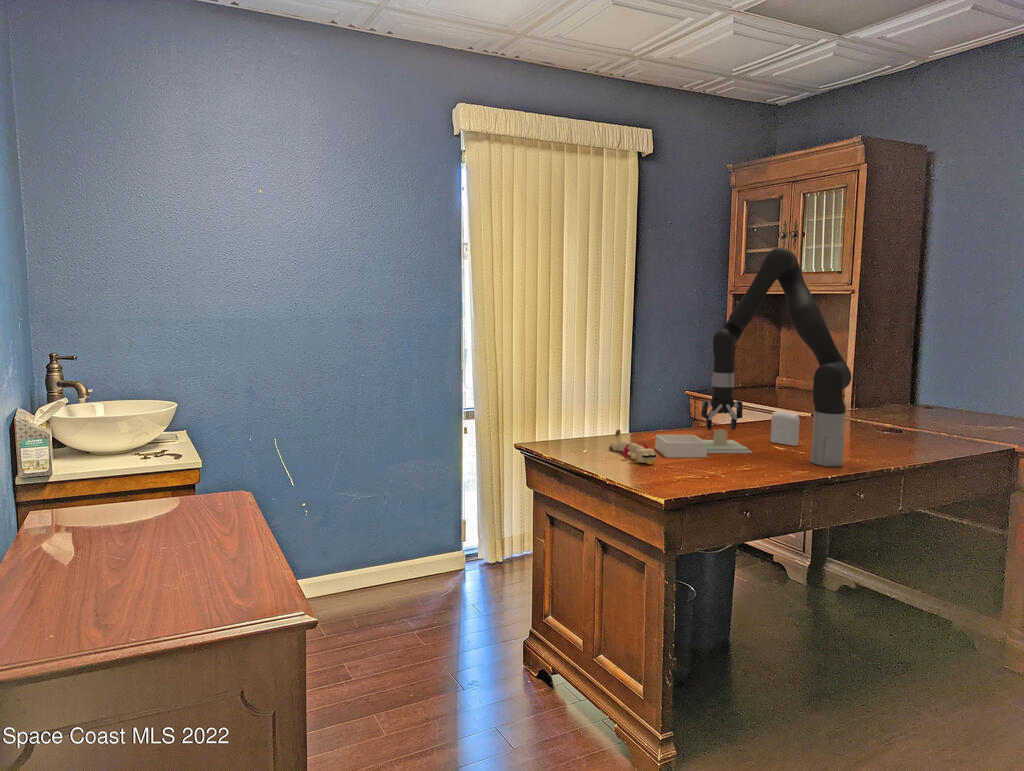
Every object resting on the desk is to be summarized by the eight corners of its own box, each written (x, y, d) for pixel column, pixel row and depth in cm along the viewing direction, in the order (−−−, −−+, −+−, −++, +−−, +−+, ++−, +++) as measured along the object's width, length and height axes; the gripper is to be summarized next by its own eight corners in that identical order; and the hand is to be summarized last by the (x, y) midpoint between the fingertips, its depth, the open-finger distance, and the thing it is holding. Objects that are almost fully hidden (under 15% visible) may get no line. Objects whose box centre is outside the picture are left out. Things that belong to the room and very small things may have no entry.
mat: (752, 453, 247) (752, 452, 247) (704, 453, 246) (704, 452, 246) (733, 442, 264) (734, 441, 264) (689, 442, 263) (689, 441, 263)
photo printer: (768, 442, 266) (770, 409, 265) (774, 440, 269) (776, 408, 267) (793, 447, 258) (796, 413, 257) (799, 445, 261) (802, 412, 259)
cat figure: (603, 454, 248) (638, 465, 224) (603, 429, 248) (637, 437, 224) (628, 452, 251) (665, 463, 227) (628, 428, 251) (665, 436, 227)
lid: (748, 451, 248) (749, 434, 247) (706, 451, 247) (707, 434, 246) (732, 442, 263) (733, 426, 262) (692, 442, 262) (693, 426, 261)
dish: (706, 457, 239) (707, 442, 239) (666, 457, 238) (666, 442, 238) (693, 448, 253) (694, 434, 253) (655, 448, 252) (655, 434, 252)
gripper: (707, 386, 248) (705, 431, 249) (746, 386, 249) (744, 431, 250) (700, 383, 255) (698, 428, 257) (738, 383, 256) (736, 427, 258)
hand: (721, 429), depth 254 cm, fingers open, 8 cm apart
